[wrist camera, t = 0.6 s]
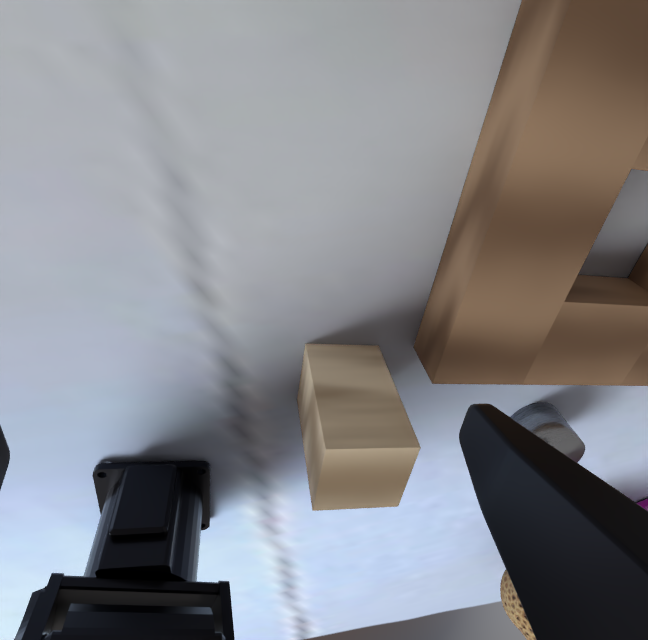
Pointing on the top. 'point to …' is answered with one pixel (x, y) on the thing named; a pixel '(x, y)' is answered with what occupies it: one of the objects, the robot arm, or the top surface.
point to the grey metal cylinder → (551, 428)
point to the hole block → (548, 210)
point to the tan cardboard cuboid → (353, 428)
